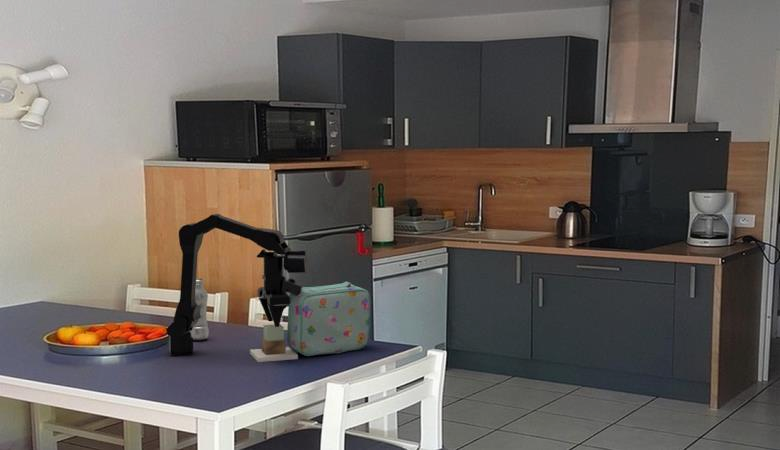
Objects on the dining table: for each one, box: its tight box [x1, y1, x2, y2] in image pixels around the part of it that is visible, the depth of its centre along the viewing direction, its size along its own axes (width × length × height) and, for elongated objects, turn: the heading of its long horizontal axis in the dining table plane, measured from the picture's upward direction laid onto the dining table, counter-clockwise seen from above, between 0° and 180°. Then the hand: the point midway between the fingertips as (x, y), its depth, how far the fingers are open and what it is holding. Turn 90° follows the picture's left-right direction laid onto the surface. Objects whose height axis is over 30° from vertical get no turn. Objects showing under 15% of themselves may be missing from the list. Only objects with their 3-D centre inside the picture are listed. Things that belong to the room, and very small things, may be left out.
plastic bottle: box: [190, 278, 210, 341], centre depth 300 cm, size 6×7×20 cm
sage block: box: [262, 323, 285, 341], centre depth 277 cm, size 5×5×4 cm
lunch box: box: [286, 281, 372, 357], centre depth 284 cm, size 27×10×21 cm, turn 126°
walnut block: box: [261, 337, 287, 355], centre depth 278 cm, size 6×6×4 cm
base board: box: [249, 346, 299, 363], centre depth 278 cm, size 12×12×1 cm
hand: (273, 323), depth 277 cm, fingers open, 9 cm apart
